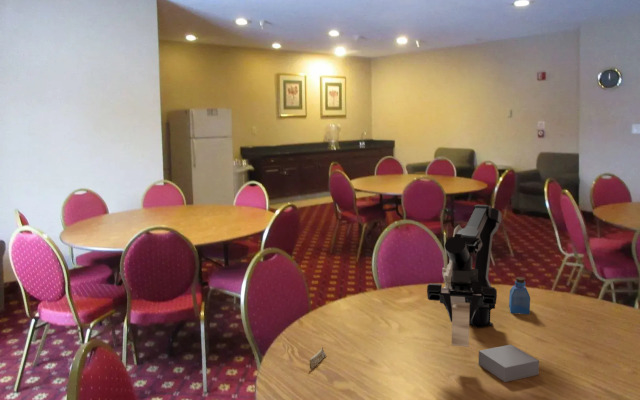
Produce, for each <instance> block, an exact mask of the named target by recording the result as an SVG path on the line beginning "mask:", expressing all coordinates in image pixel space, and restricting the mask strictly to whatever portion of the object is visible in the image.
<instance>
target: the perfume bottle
mask: <svg viewBox="0 0 640 400" xmlns="http://www.w3.org/2000/svg"><path fill="white" fill-rule="evenodd" d="M525 280H526V278H525V277H523V276H516V277H515V281H514V285H512V287H511V288H510V290H509V298H508V299H509V300H508V301H509V303H508V308H510V309H509V311H510V314H516V313H517V315H518V314H519V313H520V314H519V315H530V311H531V310H530V308H531V296H530V293H529V291H528V289H527V287H526V281H525Z"/></svg>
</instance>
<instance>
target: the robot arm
mask: <svg viewBox="0 0 640 400" xmlns="http://www.w3.org/2000/svg"><path fill="white" fill-rule="evenodd" d="M502 218H503V216H502V212H501V211H500V209H498V208H493V207H492V206H491V205H487V204H476V205H474V206H473V209H472V214H471V215H470V218H469V219H468V221H467V223H466V225H465V226H464V228H462V229H461V230H459V231H458V233H457V234H455V235H454V237H453V236H452V237H449V238H448V239H447V240H446V241H445V242H444V249H445V250H446V253H447V255H448V257H449V260H451V261H452V276H451V289H449V288H444V287H443V286H442V285H443V284H442V283H434V282H433V283H431V282H429V283H428V284H427V286H426V292H427V293H426V294H427V295H426V296H427V300H429V301H439V303H440V304H441V305H442V304H443V305H444V307H445V310H446V312H447V314H448V317H449V321H450V323H452V307H451V297H450V296H457V297H465V303H470V311H469V325H472V326H473V327H475V328H477V329H478V328H479V329H480V328H485V327H491V326H494V323H493V322H491V311H492V310H493V309H496V304H497V296H498V294H497V293H498V291H497V288H496V287H493V286H492V285H491V282H490V280H489V271H490V265H491V263H490V261H491V256H492V255H491V253H492V246H493V238H494V237H493V236H494V235H495V233H496V232H497V231H498V230H499V227H500V224H501V222H502ZM471 254H474V255H475V254H476V255H475V265H474V268H473V256H472V255H471Z"/></svg>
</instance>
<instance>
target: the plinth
mask: <svg viewBox="0 0 640 400" xmlns="http://www.w3.org/2000/svg"><path fill="white" fill-rule="evenodd" d="M478 366H480V367H482V368H483V369H485V370H486V371H487V372H490V373H491V374H492V375H494V376H495V377H496V378H498V379H499V380H501V381H502V382H504V383H508V382H512V381H516V380H521V379H525V378H530V377H533V376H538V375H539V371H540V360H539V359H537V358H536V357H534V356H533V355H530V354H528V352H527V353H526V352H525V351H524V350H521V349H520V348H518V347H516V346H515V345H514V344H505V345H502V346H496V347H495V346H494V347H490V348H486V349H481V350H478Z"/></svg>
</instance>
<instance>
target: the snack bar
mask: <svg viewBox="0 0 640 400" xmlns="http://www.w3.org/2000/svg"><path fill="white" fill-rule="evenodd" d="M325 357H327V354H326V352H325V350H324V346H322V347H321V348H320V349H319V351H318V352H316V354H314V355H313V356H311V358H309V360H308V361H309V370H311V371H312V370H313V369H314V368H315V367H316V366H317V365H318V364H319V363H320V362H321V361H323V360H324V358H325Z"/></svg>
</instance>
